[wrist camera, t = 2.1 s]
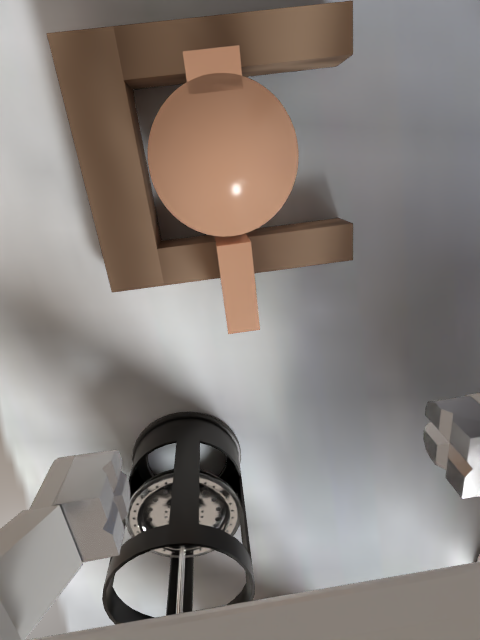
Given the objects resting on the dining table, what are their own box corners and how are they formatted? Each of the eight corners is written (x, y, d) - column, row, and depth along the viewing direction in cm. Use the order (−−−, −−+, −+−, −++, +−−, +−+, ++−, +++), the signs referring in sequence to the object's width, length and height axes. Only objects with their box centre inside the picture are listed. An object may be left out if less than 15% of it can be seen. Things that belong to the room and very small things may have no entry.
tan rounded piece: (151, 91, 23) (127, 57, 16) (264, 78, 24) (292, 39, 16) (187, 298, 29) (182, 344, 21) (280, 285, 29) (307, 326, 21)
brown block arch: (335, 19, 23) (352, 0, 20) (339, 251, 28) (353, 259, 26) (64, 48, 22) (46, 33, 20) (120, 280, 28) (112, 292, 25)
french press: (132, 403, 31) (-16, 900, 10) (246, 406, 33) (327, 860, 11) (133, 510, 36) (31, 1018, 14) (234, 509, 37) (277, 981, 16)
